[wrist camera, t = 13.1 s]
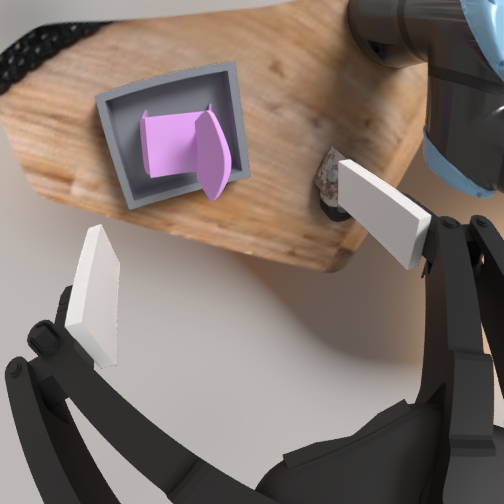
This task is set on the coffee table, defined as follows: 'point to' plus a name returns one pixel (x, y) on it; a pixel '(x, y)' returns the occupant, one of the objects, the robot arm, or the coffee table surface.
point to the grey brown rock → (331, 186)
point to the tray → (167, 103)
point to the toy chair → (187, 148)
